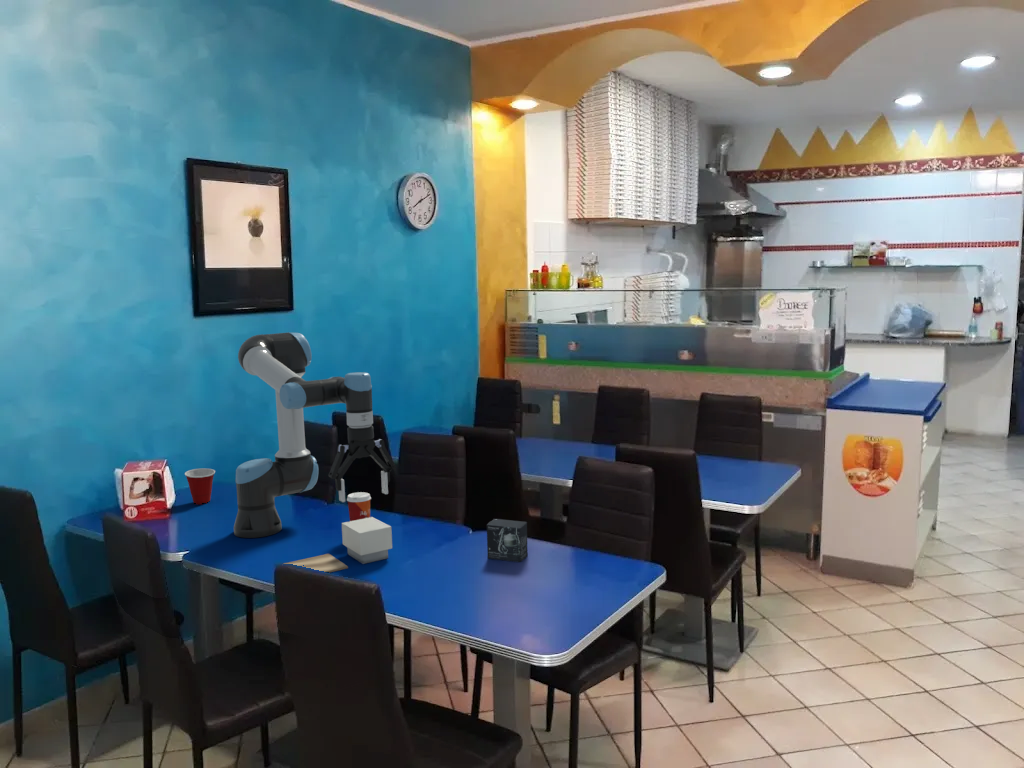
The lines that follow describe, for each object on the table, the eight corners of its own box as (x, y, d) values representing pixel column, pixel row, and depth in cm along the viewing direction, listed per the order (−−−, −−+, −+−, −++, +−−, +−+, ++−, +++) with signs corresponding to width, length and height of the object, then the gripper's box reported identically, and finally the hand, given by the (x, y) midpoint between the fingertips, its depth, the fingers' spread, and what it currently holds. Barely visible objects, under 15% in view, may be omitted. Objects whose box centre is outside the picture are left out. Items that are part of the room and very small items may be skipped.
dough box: (347, 554, 249) (346, 525, 248) (372, 548, 254) (370, 520, 252) (363, 563, 240) (361, 533, 239) (388, 558, 245) (386, 528, 243)
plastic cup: (195, 508, 305) (193, 476, 303) (181, 503, 312) (179, 472, 310) (223, 501, 313) (220, 470, 311) (208, 497, 320) (206, 466, 318)
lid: (342, 544, 249) (341, 523, 248) (373, 537, 255) (372, 516, 254) (360, 555, 238) (359, 533, 238) (392, 548, 244) (391, 526, 243)
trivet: (283, 565, 240) (282, 563, 240) (328, 555, 248) (328, 553, 248) (300, 579, 229) (300, 577, 229) (347, 568, 237) (347, 566, 237)
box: (486, 559, 242) (485, 524, 240) (495, 552, 248) (494, 518, 246) (520, 562, 238) (519, 527, 237) (528, 555, 244) (527, 521, 243)
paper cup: (367, 541, 260) (365, 498, 259) (344, 540, 262) (342, 497, 260) (376, 534, 268) (374, 491, 266) (354, 533, 269) (352, 491, 268)
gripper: (324, 433, 231) (328, 507, 234) (404, 422, 245) (407, 492, 248) (314, 429, 237) (318, 501, 240) (393, 419, 251) (396, 487, 254)
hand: (364, 497), depth 244 cm, fingers open, 13 cm apart
